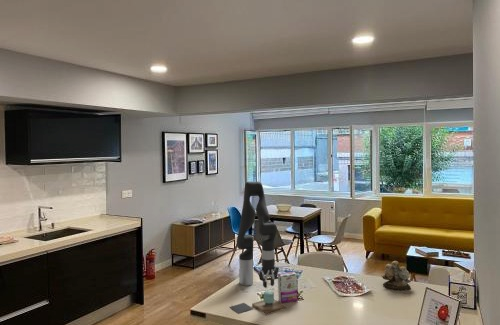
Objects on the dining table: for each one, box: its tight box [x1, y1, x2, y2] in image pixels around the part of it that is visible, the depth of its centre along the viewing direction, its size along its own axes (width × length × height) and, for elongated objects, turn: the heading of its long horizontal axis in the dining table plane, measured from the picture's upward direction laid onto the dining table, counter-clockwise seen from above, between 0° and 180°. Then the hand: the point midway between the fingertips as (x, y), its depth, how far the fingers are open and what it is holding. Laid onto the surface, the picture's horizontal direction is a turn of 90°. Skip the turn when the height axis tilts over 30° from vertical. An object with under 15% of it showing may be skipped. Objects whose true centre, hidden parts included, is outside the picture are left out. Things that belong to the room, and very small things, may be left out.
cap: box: [263, 290, 275, 303], centre depth 217 cm, size 6×6×6 cm
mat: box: [229, 302, 254, 314], centre depth 216 cm, size 10×10×1 cm
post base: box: [251, 299, 287, 315], centre depth 217 cm, size 14×14×8 cm
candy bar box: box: [277, 271, 299, 304], centre depth 226 cm, size 11×5×16 cm, turn 105°
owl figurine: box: [381, 260, 412, 291], centre depth 245 cm, size 18×12×17 cm, turn 79°
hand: (268, 286), depth 217 cm, fingers open, 4 cm apart
